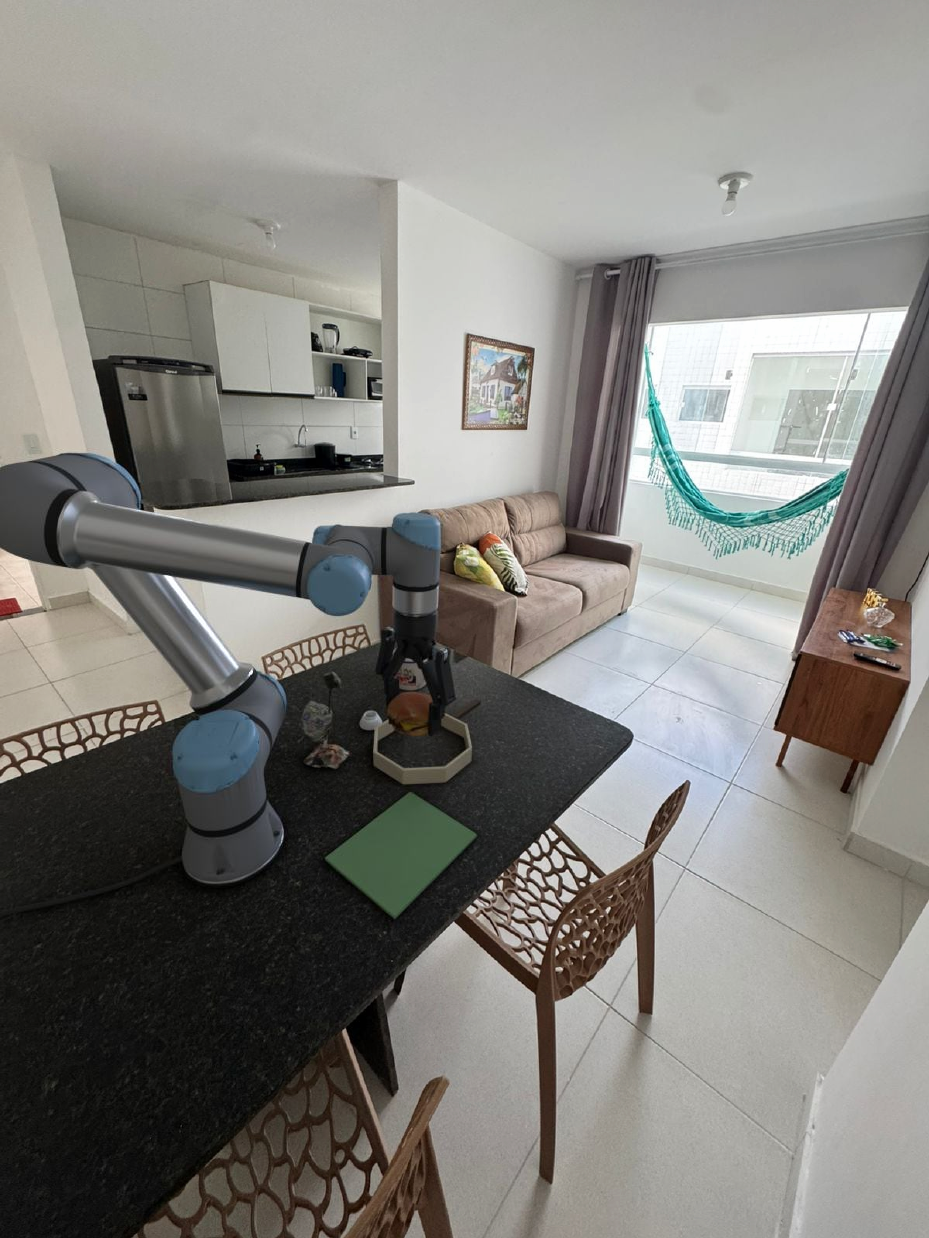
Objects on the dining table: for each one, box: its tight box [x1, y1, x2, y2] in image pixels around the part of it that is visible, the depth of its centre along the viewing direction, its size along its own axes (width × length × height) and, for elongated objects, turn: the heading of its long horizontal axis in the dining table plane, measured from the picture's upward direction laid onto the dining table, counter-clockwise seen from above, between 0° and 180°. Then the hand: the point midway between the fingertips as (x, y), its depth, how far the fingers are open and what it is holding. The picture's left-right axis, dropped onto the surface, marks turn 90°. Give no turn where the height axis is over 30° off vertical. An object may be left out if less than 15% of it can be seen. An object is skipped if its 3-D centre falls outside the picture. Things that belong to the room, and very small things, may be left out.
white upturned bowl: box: [359, 710, 383, 731], centre depth 117 cm, size 5×3×5 cm
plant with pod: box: [297, 671, 353, 770], centre depth 102 cm, size 8×11×20 cm
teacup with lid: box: [392, 648, 428, 692], centre depth 132 cm, size 12×9×12 cm
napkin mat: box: [324, 791, 478, 920], centre depth 86 cm, size 20×16×1 cm
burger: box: [386, 691, 432, 738], centre depth 93 cm, size 10×9×5 cm
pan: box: [372, 698, 482, 785], centre depth 113 cm, size 30×20×4 cm
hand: (413, 721), depth 94 cm, fingers closed on burger, 9 cm apart
